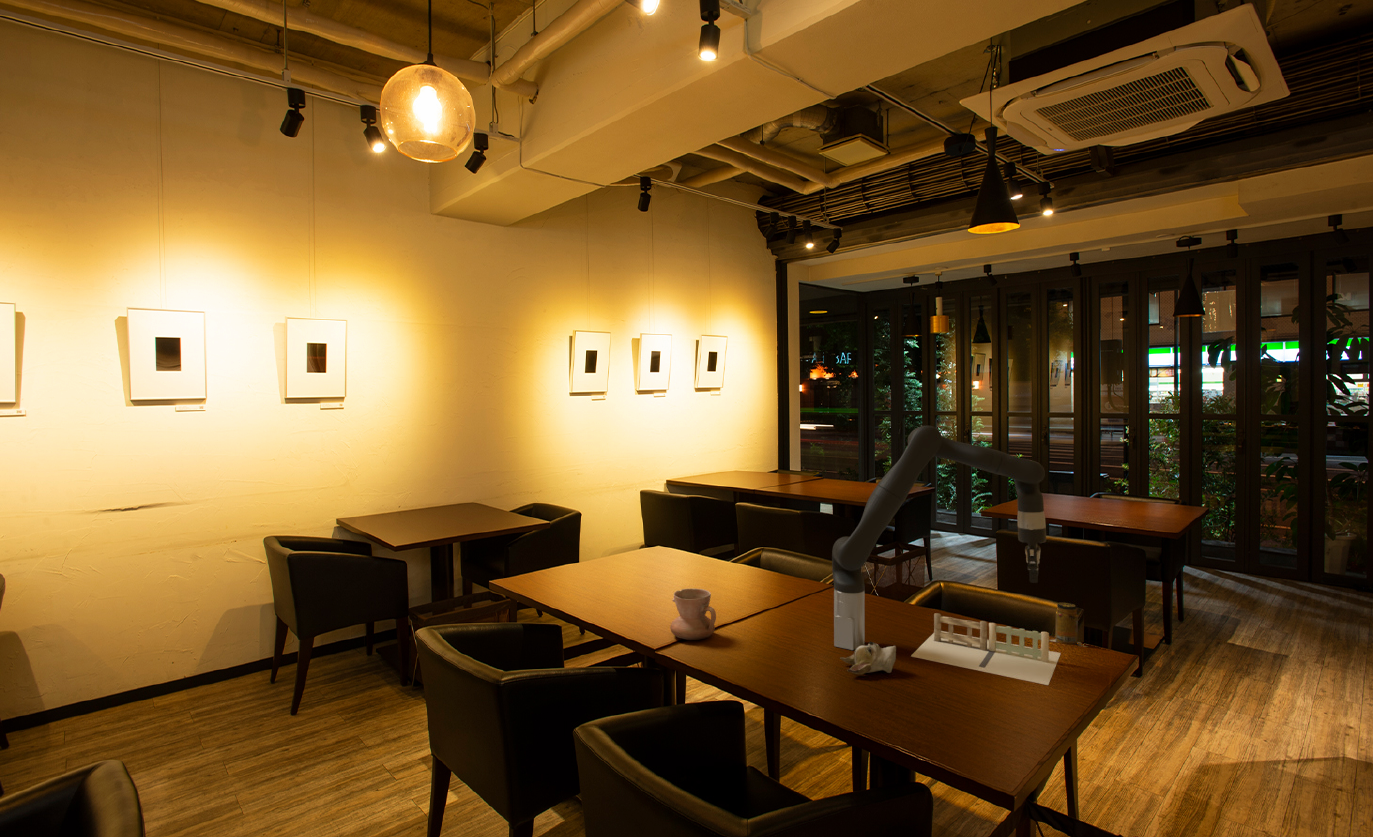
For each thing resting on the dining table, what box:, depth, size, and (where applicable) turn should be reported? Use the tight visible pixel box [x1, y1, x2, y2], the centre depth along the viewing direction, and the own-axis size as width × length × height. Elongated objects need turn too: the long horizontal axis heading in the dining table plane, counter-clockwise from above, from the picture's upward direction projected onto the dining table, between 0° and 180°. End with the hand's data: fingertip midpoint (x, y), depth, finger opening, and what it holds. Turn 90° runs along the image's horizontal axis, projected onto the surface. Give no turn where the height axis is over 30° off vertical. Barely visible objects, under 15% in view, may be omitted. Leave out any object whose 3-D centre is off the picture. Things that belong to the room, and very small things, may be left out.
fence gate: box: [988, 622, 1050, 662], centre depth 196 cm, size 16×2×8 cm, turn 55°
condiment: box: [1049, 602, 1088, 648], centre depth 207 cm, size 7×8×12 cm
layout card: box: [910, 630, 1061, 686], centre depth 197 cm, size 28×36×1 cm
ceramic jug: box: [669, 588, 717, 641], centre depth 214 cm, size 18×14×14 cm
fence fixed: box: [933, 612, 988, 651], centre depth 205 cm, size 16×2×8 cm, turn 55°
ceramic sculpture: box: [839, 641, 897, 675], centre depth 186 cm, size 11×9×15 cm
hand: (1034, 578), depth 201 cm, fingers open, 8 cm apart
